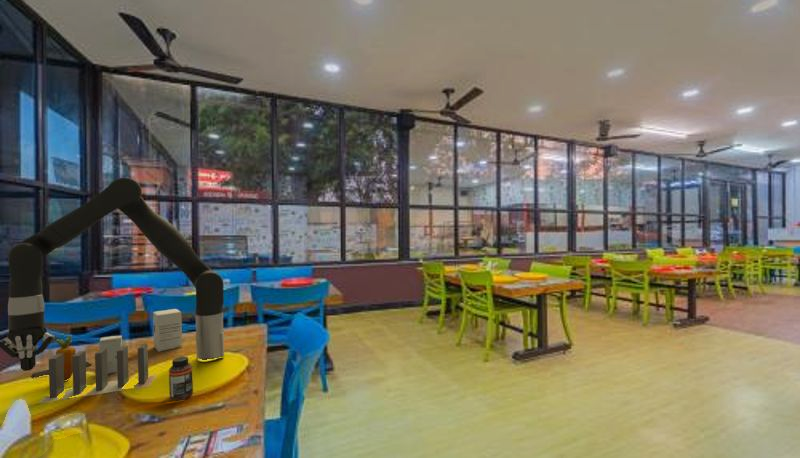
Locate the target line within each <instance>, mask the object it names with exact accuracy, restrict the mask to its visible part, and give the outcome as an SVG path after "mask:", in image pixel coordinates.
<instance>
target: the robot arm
mask: <svg viewBox="0 0 800 458" xmlns="http://www.w3.org/2000/svg"><path fill="white" fill-rule="evenodd" d="M142 194H143V193H142V185H141V184H140V183H139V182H138V181H137V180H135V179H133V178H131V177H119V178H118V177H117V178H115V179H114V180H112V181H111V182H110V183H109V185H107V187H105V188H104V190H102V191H101V192H100V193H98V194H97V195H96V196H94V197H93V198H91V199H90V200H89V201H86V202H85V203H83V205H80V206H79V207H77V208H75V209H74V210H72V211H69V213H66V214H65V215H63V216H61V217H59V218H58V219H57V220H55V221H52V222H51V223H49V224H48V225H46V226H45V227H44V228H42V229H40V230H39V231H38V232H37V233H34V234H33V235H31V236H29V237H27V238H25V239H24V240H21V241H20V242H18V243H17V244H14V245H12V246H11V247H10V248H9V249H8V252H7V254H6V255H7V260H8V271H9V281H8V302H7V315H8V318H7V319H8V323H7V324H8V332H7V335H6V337H5V338H3V339H2V340H0V349H1V350H3V351H4V352H5V353H6V354H7V355H9V356H10V357H11V358H17V359H19V360H20V361H19V362H20V366H19V367H20V370H22V372H27V371H31V370H33V369H34V367H36V363H37V362H36V356H38V355H41V353H44V352H45V350H46V349H47V348H48V347H49V346H50V345H51V343H53V341H54V340H55V339H56V338H57V337H56V336H57V335H56V334H51V333H49V332H48V331H47V328H46V327H45V322H46V321H45V300H44V299H45V298H44V296H43V292H44V291H43V280H42V271H43V259H44V258H45V257H46V256H47V255H49V254H50V253H51V252H53V251H54V250H56V249H59V248H61V247H64V246H65V245H67V244H68V243H70V242H72V241H73V240H74V239H76V238H77V237H79V236H80V235H81V234H83V233H84V232H85V231H87V230H88V229H90V228H91V227H93V226H94V225H95V224H96V223H97V222H99V221H100V220H102V219H103V218H104V217H106V216H107V215H109V214H110V213H113V212H114V211H116V210H119V211H120V212H122V214H124V215H125V216H126V217H127V218H128V219H130V220H131V221H132V222H133V224H135V226H136V227H137V228H138V229H139V230H140V232H141V233H142V234H143V236H144V237H145V238H146V239H147V240H148V241H149V242H150V243H151V244H152V245H153V247H154V248H155V249H156V250H158V252H159V253H160V254H161V255H162V256H163V257H165V258H166V259H167V260H168V261H169V262H171V263H172V264H173V265H175V267H177V268H178V269H179V270H180V271H182V273H184V275H185V276H186V277H187V279H188V280H189V281H190V282H191V284H192V285H193V287H194V289H195V308H194V309H195V341H196V342H195V343H196V344H195V346H196V348H195V350H196V359H197V358H199V359H202V360H207V359H214V358H219V357H223V356H225V336H224V334H225V332H224V312H223V311H224V310H223V309H224V297H225V296H224V280H223V278H222V276H221V275H220V274H219V273H217V272H216V271H214V270H213V269H212V268H210V266H208V265H207V264H206V263H205V262H204V261H203V260H202V259H200V257H198V255H197V253H196V252H195V250H194V249H193V247H192V246H191V244H190V243H189V242H188V240H187V239H186V237H184V235H183V234H182V233H181V232H180V231H179V230H178V229H177V228H176V227H175V226H174V225H173V224H172V223H171V222H169V221H168V220H167V219H165V218H164V217H162V216H161V215H160V214H158V213H157V212H156V211H154V210H153V208H151V206H149V204H148V203H147V202H146V201H145V199H144V198H143V197H142ZM41 340H42V341H43V342H42V343H41V345H39V347H38V344H39V343H40V341H41ZM13 344H14V345H13Z"/></svg>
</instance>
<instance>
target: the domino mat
mask: <svg viewBox="0 0 800 458" xmlns="http://www.w3.org/2000/svg"><path fill="white" fill-rule="evenodd" d="M150 375H151V376H150ZM150 375H148V376H149V377H148V379H147V381H146V382H145V384H140V385H139V382H138V383H137V384H136V385H134V389H139V388H140V389H141V388H146V387H150V385H152V383H153V381H154V379H155V378H156V376H157V374H150ZM129 379H131V378H129ZM83 391H84V390H83ZM83 391H82V392H83ZM119 391H120V392H121V391H123V390H122V388H118V379H116V380H110V381H109V380H108V385H107V386H106V387H105V388H104V389H103V390H102V391H96V388H94V389H93V390H92V391H91V392H89V393H88V394H86V395H85V396H84V397H88V396H95V395H101V394H108V393H114V392H119ZM82 392H81V393H82ZM81 393H80V394H81ZM76 395H79V394H76ZM76 395H73V388H72V389H69V390H66V392H65V395H64V396H63V398H60V399H63V400H68V399H67V398H69V397H72V396H76ZM46 396H47V395H46ZM46 396H44V397H43V398H42V399H41V400H40V401H38V404H42V403H50V402H55V401H60V400H59V399H58V398H57V397H56V398H50V396H47V398H46Z"/></svg>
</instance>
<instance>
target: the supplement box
mask: <svg viewBox="0 0 800 458" xmlns="http://www.w3.org/2000/svg"><path fill="white" fill-rule="evenodd" d="M182 321H183V320H182V312H181V311H180V310H179V309H177V308H172V309H166V310H158V311H153V312H152V322H153V347H154V349H155V350H156V351H157V352H159V353H160V352H164V351H168V350H172V349H177V347H178V348H181V347H183V332H182V331H183V330H182V327H183V325H182V323H183V322H182Z"/></svg>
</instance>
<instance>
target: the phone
mask: <svg viewBox="0 0 800 458" xmlns="http://www.w3.org/2000/svg"><path fill="white" fill-rule="evenodd" d="M91 366H92V363H90V362H88V361H86V368H88V367H91ZM43 375H49V369H46V370H45V369H44V370H41V371H38V372H34V373H31V377H33V378H34V377H39V376H43Z"/></svg>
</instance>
